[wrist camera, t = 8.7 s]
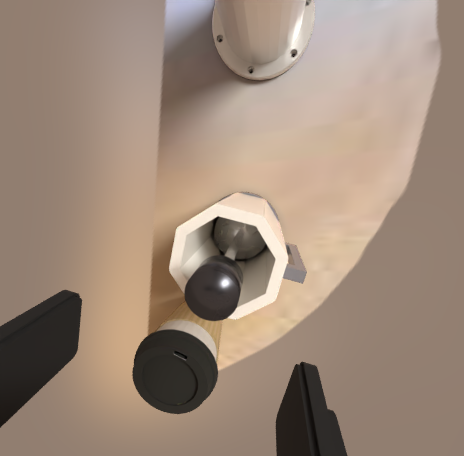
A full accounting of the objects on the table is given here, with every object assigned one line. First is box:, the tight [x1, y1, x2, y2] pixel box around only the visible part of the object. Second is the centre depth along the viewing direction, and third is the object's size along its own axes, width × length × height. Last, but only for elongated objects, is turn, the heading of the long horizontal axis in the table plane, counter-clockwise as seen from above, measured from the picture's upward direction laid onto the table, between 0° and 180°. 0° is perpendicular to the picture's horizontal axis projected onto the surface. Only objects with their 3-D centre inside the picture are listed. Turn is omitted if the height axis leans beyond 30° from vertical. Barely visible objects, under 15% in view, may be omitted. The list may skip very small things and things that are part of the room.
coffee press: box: [169, 192, 307, 320], centre depth 29 cm, size 11×13×16 cm
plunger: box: [184, 217, 266, 321], centre depth 25 cm, size 7×7×18 cm
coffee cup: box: [133, 301, 222, 414], centre depth 34 cm, size 10×10×15 cm
